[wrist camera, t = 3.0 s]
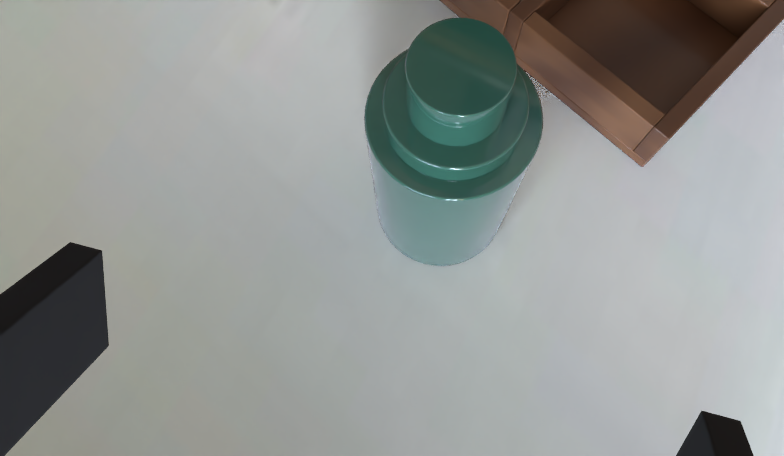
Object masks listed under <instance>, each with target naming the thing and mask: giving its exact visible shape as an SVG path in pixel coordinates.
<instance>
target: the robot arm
mask: <svg viewBox="0 0 784 456" xmlns="http://www.w3.org/2000/svg"><path fill="white" fill-rule="evenodd" d="M108 346H109V343H108V329H107V315H106V300H105V286H104V272H103V258H102V251H101V250H97V249H94V248H90V247H86V246H82V245H79V244H75V243H71V242H70V243H69V244H67V245H66V246H65V247H63V248H62V249H61V250H59V251H58V252H57V253H55V254H54V255H53V256H51V257H50V258H49V259H47V260H46V261H45V262H43V263H42V264H41V265H39V266H38V267H36V268H35V269H34V270H32V271H31V272H30V273H28V274H27V275H26V276H24V277H23V278H22V279H20V280H19V281H18V282H16V283H15V284H14V285H12V286H11V287H10V288H8V289H7V290H6V291H4V292H3V293H2V294H0V456H5V455H6V453H7V452H8V451H9V450H10V449H11V448H12V447H13V446H14V445H15V444H16V443H17V442H18V441H19V440H20V439H21V438H22V437H23V436H24V434H25V433H26V432H27V431H28V430H29V429H30V428H31V427H32V426H33V425H34V424H35V423H36V422H37V421H38V420H39V419H40V418H41V417H42V416H43V414H44V413H45V412H46V411H47V410H48V409H49V408H50V407H51V406H52V405H53V404H54V403H55V402H56V401H57V400H58V399H59V398H60V397H61V395H62V394H63V393H64V392H65V391H66V390H67V389H68V388H69V387H70V386H71V385H72V384H73V383H74V382H75V381H76V380H77V379H78V378H79V376H80V375H81V374H82V373H83V372H84V371H85V370H86V369H87V368H88V367H89V366H90V365H91V364H92V363H93V362H94V361H95V360H96V359H97V357H98V356H99V355H100V354H101V353H102V352H103V351H104V350H105V349H106V348H107V347H108ZM676 456H753V453H752V450H751V448H750V445H749V443H748V440H747V437H746V435H745V432H744V429H743V427H742V424H741V421H738V420H734V419H731V418H727V417H723V416H719V415H716V414H712V413H708V412H704V411H701V413H700V415H699V416H698V418H697V420H696V422H695V423H694V425H693V427H692V429H691V430H690V432H689V434H688V436H687V437H686V439H685V441H684V443H683V444H682V446H681V448H680V450H679V451H678V453H677V455H676Z"/></svg>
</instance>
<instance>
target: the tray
mask: <svg viewBox="0 0 784 456" xmlns="http://www.w3.org/2000/svg"><path fill="white" fill-rule="evenodd" d="M440 1H441V2H442V3H443V4H445V5H446V6H447V7H448V8H449V9H451V10H452V11H453V12H454V13H456V14H457V15H458V16H459V17H460V18H471V19H476V20H479V21H482V22H485V23H487V24H489V25H491V26H493V27H494V28H495V29H497V30H498V31H499V32H500V33H501V34H503V35H504V37H505V38H506V39H507V40H508V42H509V43H510V45H511V46H512V49H513V51H514V53H515V57H516V62H517V64H518V65H519V66H520V67H521V68H522V69H524V70H525V71H526V72H527V73H528V74H530V75H531V76H532V77H533V78H534V79H536V80H537V81H538V82H539V83H541V84H542V85H543V86H544V87H545V88H547V89H548V90H549V91H550V92H551V93H553V94H554V95H555V96H556V97H558V98H559V99H560V100H561V101H562V102H564V103H565V104H566V105H567V106H568V107H570V108H571V109H572V110H573V111H575V112H576V113H577V114H578V115H579V116H581V117H582V118H583V119H584V120H585V121H587V122H588V123H589V124H590V125H592V126H593V127H594V128H595V129H596V130H598V131H599V132H600V133H601V134H602V135H604V136H605V137H606V138H607V139H609V140H610V141H611V142H612V143H613V144H615V145H616V146H617V147H618V148H619V149H621V150H622V151H623V152H624V153H626V154H627V155H628V156H629V157H630V158H632V159H633V160H634V161H635V162H636V163H638V164H639V165H640V166H641V167H643V166H644V165H645V164H646V163H647V162H648V161H649V160H650V159H651V158H652V157H653V156H654V155H655V154H656V153H657V152H658V151H659V150H660V149H661V148H662V147H663V145H664V144H665V143H666V142H667V141H668V140H669V139H670V138H671V137H672V136H673V135H674V134H675V133H676V132H677V131H678V130H679V129H680V128H681V127H682V126H683V124H684V123H685V122H686V121H687V120H688V119H689V118H690V117H691V116H692V115H693V114H694V113H695V112H696V111H697V110H698V109H699V108H700V107H701V106H702V104H703V103H704V102H705V101H706V100H707V99H708V98H709V97H710V96H711V95H712V94H713V93H714V92H715V91H716V90H717V89H718V88H719V87H720V86H721V84H722V83H723V82H724V81H725V80H726V79H727V78H728V77H729V76H730V75H731V74H732V73H733V72H734V71H735V70H736V69H737V68H738V67H739V65H740V64H741V63H742V62H743V61H744V60H745V59H746V58H747V57H748V56H749V55H750V54H751V53H752V52H753V51H754V50H755V49H756V48H757V47H758V45H759V44H760V43H761V42H762V41H763V40H764V39H765V38H766V37H767V36H768V35H769V34H770V33H771V32H772V31H773V30H774V29H775V28H776V27H777V25H778V24H779V23H780V22H781V21H782V20H783V19H784V0H440Z"/></svg>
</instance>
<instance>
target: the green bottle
mask: <svg viewBox="0 0 784 456" xmlns="http://www.w3.org/2000/svg"><path fill="white" fill-rule="evenodd" d="M364 120H365V132H366V138H367V145H368V151H369V158H370V164H371V171H372V177H373V184H374V190H375V197H376V203H377V210H378V215H379V220H380V223H381V226H382V229H383V231H384V233H385V235H386V236H387V238H388V239H389V241H390V242H391V243H392V244H393V245H394V246H395V247H396V248H397V249H398V250H399V251H400V252H401V253H403V254H404V255H406V256H407V257H409V258H411V259H413V260H415V261H418V262H421V263H424V264H428V265H435V266H446V265H453V264H458V263H461V262H464V261H467V260H469V259H471V258H473V257H474V256H476V255H477V254H479V253H480V252H481V251H483V250H484V249H485V248H486V247H487V246H488V245H489V243H490V242H491V241H492V239H493V238H494V236H495V235H496V233H497V231H498V229H499V227H500V225H501V223H502V221H503V219H504V217H505V215H506V213H507V210H508V208H509V206H510V204H511V202H512V200H513V198H514V196H515V194H516V192H517V190H518V188H519V186H520V184H521V182H522V180H523V178H524V176H525V174H526V172H527V170H528V168H529V166H530V164H531V162H532V160H533V158H534V155H535V153H536V151H537V149H538V146H539V143H540V140H541V136H542V129H543V113H542V107H541V102H540V99H539V96H538V93H537V91H536V89H535V87H534V84H533V83H532V81H531V80H530V78H529V76H528V75H527V74H526V73H525V71H524V70H523V69H522V68H521V67H520V66H519V65H518V64H517V62H516V57H515V53H514V51H513V49H512V46H511V45H510V43H509V42H508V40H507V39H506V38H505V37H504V35H503V34H501V33H500V32H499V31H498V30H497V29H495V28H494V27H493V26H491V25H489V24H487V23H485V22H482V21H479V20H476V19H471V18H460V17H459V18H450V19H445V20H441V21H438V22H436V23H434V24H432V25H430V26H429V27H427V28H426V29H424V30H423V31H422V32H421V33H420V34H419V35H418V36H417V37H416V38H415V39H414V41H413V42H412V44H411V46H410V47H409V49H408V50H406V51H404V52H403V53H401V54H399V55H398V56H397V57H396V58H394V59H393V60H392V61H391V62H390V63H389V64H388V65H387V66H386V67H385V68H384V69H383V70H382V71H381V73H380V74H379V75H378V77H377V78H376V80H375V82H374V83H373V85H372V87H371V89H370V92H369V95H368V97H367V102H366V106H365V116H364Z"/></svg>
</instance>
